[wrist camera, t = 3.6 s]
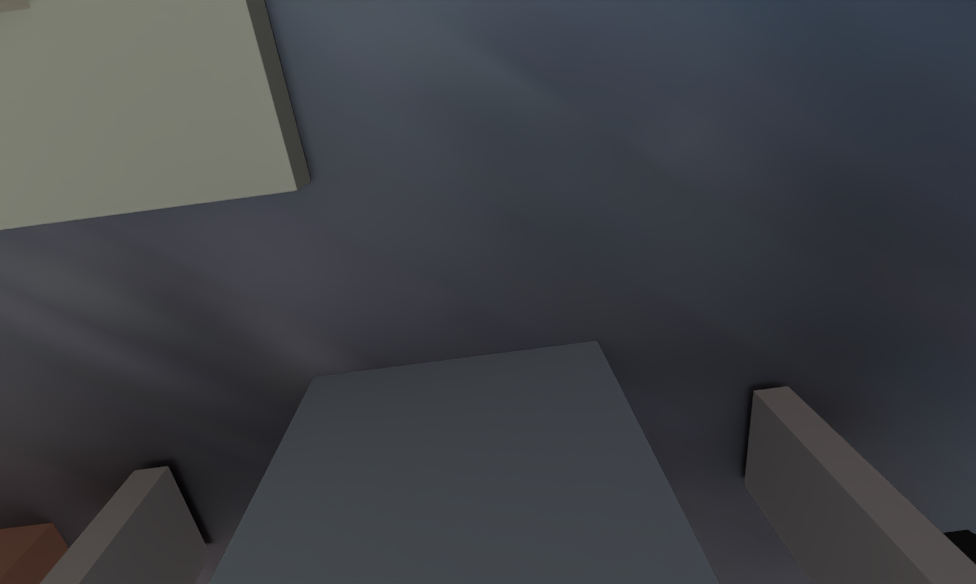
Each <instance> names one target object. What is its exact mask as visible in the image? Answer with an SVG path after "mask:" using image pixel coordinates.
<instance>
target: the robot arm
mask: <svg viewBox="0 0 976 584" xmlns="http://www.w3.org/2000/svg"><path fill="white" fill-rule="evenodd" d="M744 486H745V488H746V489H747V491H748V492H749V493H750V495H751V496H752V498H753V499H754V501H755V502H756V504H757V505H758V507H759V508H760V509H761V511H762V512H763V514H764V515H765V517H766V518H767V520H768V521H769V523H770V524H771V525H772V527H773V528H774V530H775V531H776V533H777V534H778V536H779V537H780V538H781V540H782V541H783V543H784V544H785V546H786V547H787V549H788V550H789V552H790V553H791V554H792V556H793V557H794V559H795V560H796V562H797V563H798V565H799V566H800V568H801V569H802V570H803V572H804V573H805V575H806V576H807V578H808V579H809V581H810V582H811V584H976V534H974V533H972V532H970V531H969V530H962V531H954V532H946V533H942V532H941V531H940V530H939V529H938V528H937V527H936V526H935V525H933V524H932V523H931V522H930V521H929V520H928V519H927V518H926V517H925V516H924V515H923V514H922V513H921V512H920V511H919V510H918V509H917V508H916V507H915V506H913V505H912V504H911V503H910V502H909V501H908V500H907V499H906V498H905V497H904V496H903V495H902V494H901V493H900V492H899V491H898V490H897V489H896V488H895V487H894V486H892V485H891V484H890V483H889V482H888V481H887V480H886V479H885V478H884V477H883V476H882V475H881V474H880V473H879V472H878V471H877V470H876V469H875V468H874V467H872V466H871V465H870V464H869V463H868V462H867V461H866V460H865V459H864V458H863V457H862V456H861V455H860V454H859V453H858V452H857V451H856V450H855V449H854V448H852V447H851V446H850V445H849V444H848V443H847V442H846V441H845V440H844V439H843V438H842V437H841V436H840V435H839V434H838V433H837V432H836V431H835V430H834V429H833V428H831V427H830V426H829V425H828V424H827V423H826V422H825V421H824V420H823V419H822V418H821V417H820V416H819V415H818V414H817V413H816V412H815V411H814V410H813V409H811V408H810V407H809V406H808V405H807V404H806V403H805V402H804V401H803V400H802V399H801V398H800V397H799V396H798V395H797V394H796V393H795V392H794V391H793V390H791V389H790V388H789V387H788V386H786V387H778V388H770V389H763V390H755V391H754V392H753V402H752V412H751V422H750V432H749V442H748V452H747V462H746V472H745V482H744ZM209 554H210V553H209V551H208V549H207V547H206V545H205V542H204V540H203V538H202V536H201V534H200V532H199V530H198V528H197V526H196V524H195V521H194V519H193V517H192V515H191V513H190V511H189V509H188V507H187V505H186V502H185V500H184V498H183V496H182V494H181V492H180V490H179V488H178V486H177V484H176V481H175V479H174V477H173V475H172V473H171V471H170V469H169V467H168V466H166V467H158V468H150V469H142V470H135V471H134V472H133V473H132V474H131V475H130V476H129V478H128V479H127V480H126V481H125V482H124V483H123V485H122V486H121V487H120V488H119V489H118V491H117V492H116V493H115V494H114V495H113V497H112V498H111V499H110V500H109V501H108V503H107V504H106V505H105V506H104V507H103V509H102V510H101V511H100V512H99V513H98V515H97V516H96V517H95V518H94V519H93V520H92V522H91V523H90V524H89V525H88V526H87V528H86V529H85V530H84V531H83V532H82V534H81V535H80V536H79V537H78V538H77V540H76V541H75V542H74V543H73V544H72V546H71V547H70V548H69V549H68V550H67V552H66V553H65V554H64V555H63V556H62V557H61V559H60V560H59V561H58V562H57V563H56V565H55V566H54V567H53V568H52V569H51V571H50V572H49V573H48V574H47V575H46V577H45V578H44V579H43V580H42V581H41V583H40V584H194V583H195V581H196V579H197V577H198V575H199V573H200V571H201V570H202V568H203V566H204V564H205V562H206V560H207V558H208V556H209Z"/></svg>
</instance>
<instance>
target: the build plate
mask: <svg viewBox="0 0 976 584" xmlns="http://www.w3.org/2000/svg"><path fill="white" fill-rule="evenodd" d="M28 2H29V5H30V7H31V8H28V9H21V10H13V11H6V12H0V230H2V229H10V228H17V227H25V226H32V225H40V224H48V223H55V222H63V221H70V220H78V219H85V218H93V217H101V216H108V215H116V214H123V213H131V212H138V211H146V210H154V209H161V208H169V207H176V206H184V205H192V204H199V203H207V202H214V201H222V200H229V199H237V198H245V197H252V196H260V195H267V194H275V193H283V192H290V191H297V190H299V189H300V188H302V187H303V186H305V185H306V184H308V183H309V182H311V179H310V175H309V172H308V168H307V164H306V160H305V156H304V152H303V148H302V145H301V141H300V137H299V133H298V129H297V125H296V121H295V118H294V114H293V110H292V106H291V102H290V98H289V94H288V91H287V87H286V83H285V79H284V75H283V71H282V67H281V63H280V60H279V56H278V52H277V48H276V44H275V40H274V36H273V33H272V29H271V25H270V21H269V17H268V13H267V9H266V6H265V2H264V0H28Z"/></svg>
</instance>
